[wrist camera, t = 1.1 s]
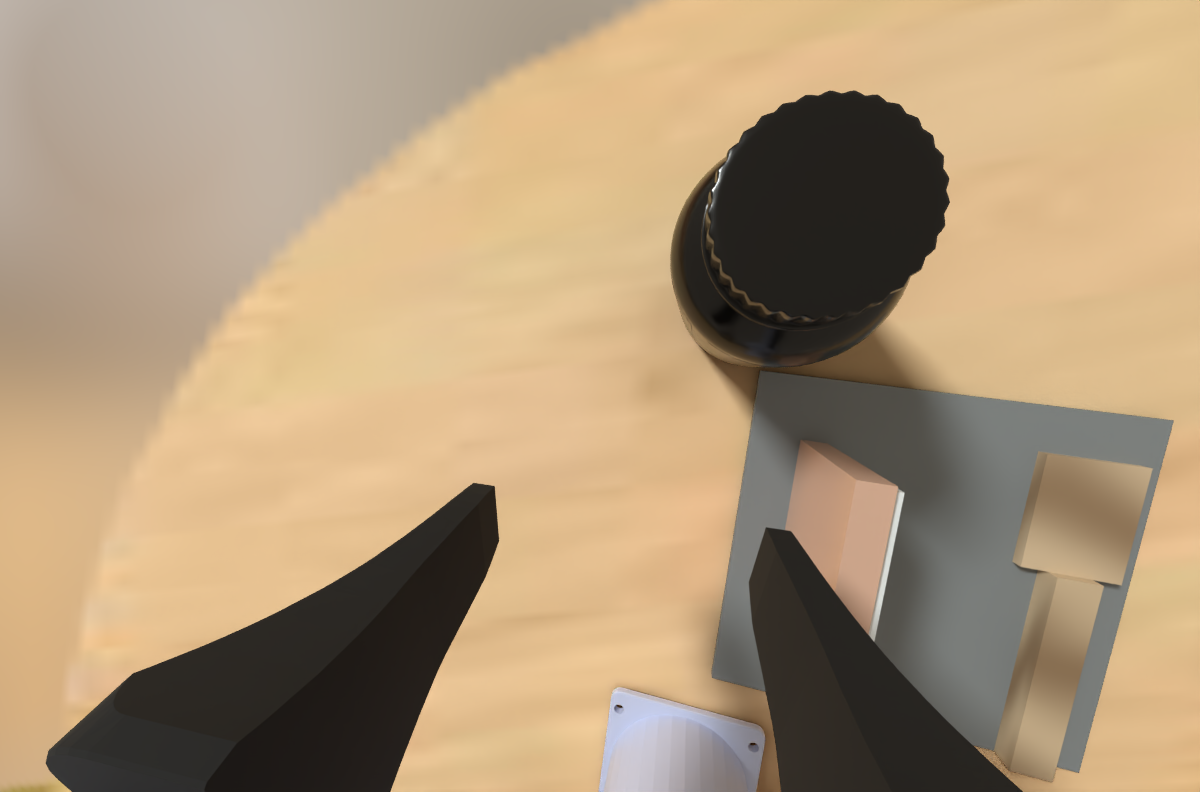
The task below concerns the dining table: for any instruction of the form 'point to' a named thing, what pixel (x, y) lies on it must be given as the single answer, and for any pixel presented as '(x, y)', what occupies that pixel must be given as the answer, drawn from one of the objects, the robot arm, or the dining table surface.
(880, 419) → the mat
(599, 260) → the dining table surface
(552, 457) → the dining table surface
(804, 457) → the tile
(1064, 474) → the turner
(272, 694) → the robot arm
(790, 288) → the supplement bottle
